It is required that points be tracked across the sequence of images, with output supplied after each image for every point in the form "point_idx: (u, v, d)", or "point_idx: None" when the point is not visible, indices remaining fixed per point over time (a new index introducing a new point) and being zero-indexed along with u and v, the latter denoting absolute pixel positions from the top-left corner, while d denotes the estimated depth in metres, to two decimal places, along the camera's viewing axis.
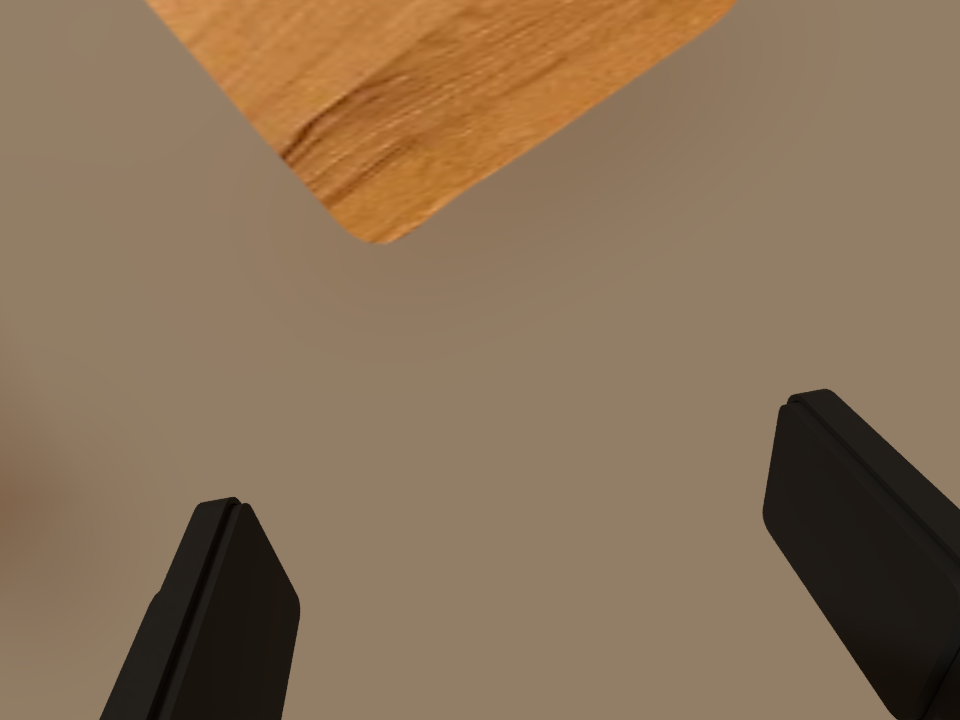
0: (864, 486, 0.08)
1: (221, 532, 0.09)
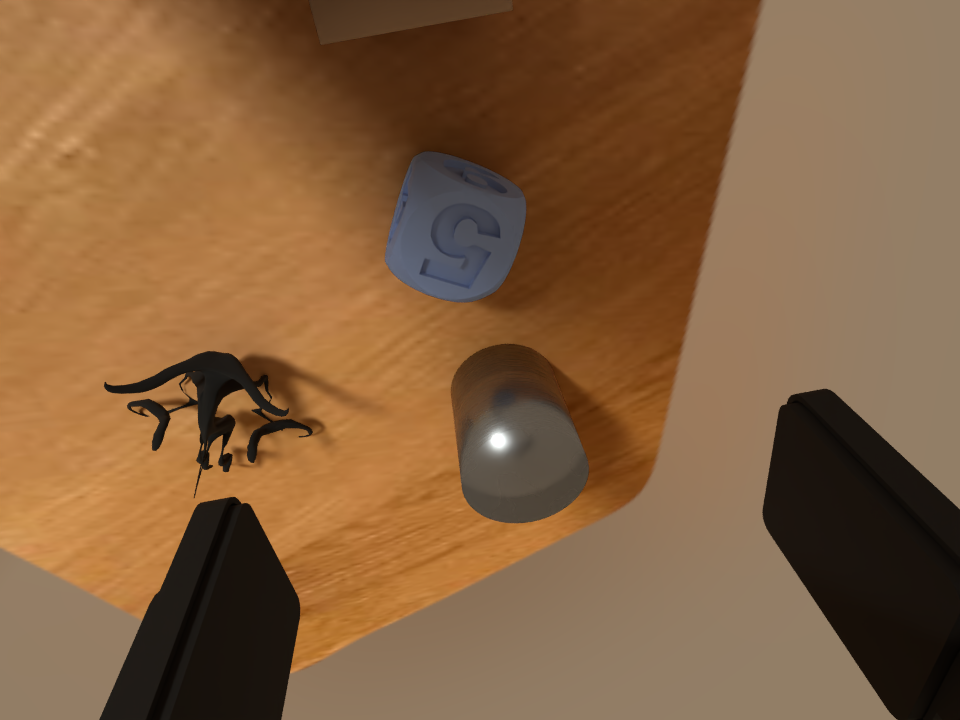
0: (864, 486, 0.08)
1: (221, 532, 0.09)
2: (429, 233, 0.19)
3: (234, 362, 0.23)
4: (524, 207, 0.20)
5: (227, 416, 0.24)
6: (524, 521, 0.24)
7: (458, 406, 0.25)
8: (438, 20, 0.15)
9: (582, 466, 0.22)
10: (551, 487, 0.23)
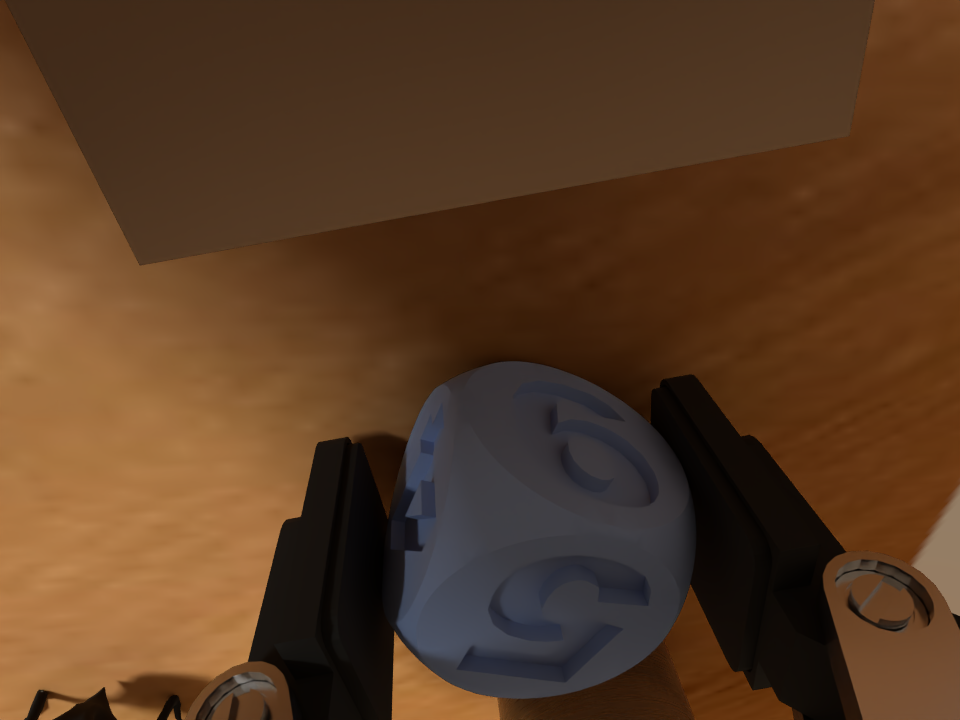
0: (701, 459, 0.09)
1: (344, 466, 0.10)
2: (485, 608, 0.08)
3: None
4: (694, 513, 0.09)
5: None
6: None
7: None
8: (575, 176, 0.04)
9: None
10: None
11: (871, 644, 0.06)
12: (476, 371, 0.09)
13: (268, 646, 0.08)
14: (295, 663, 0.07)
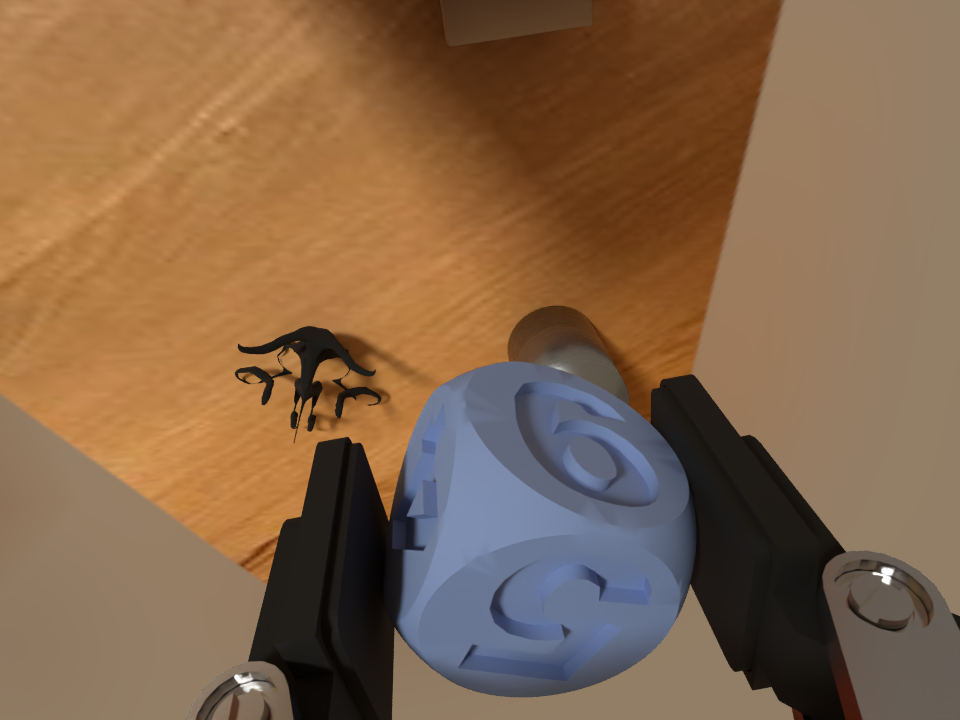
0: (701, 459, 0.09)
1: (344, 465, 0.10)
2: (487, 607, 0.08)
3: (330, 335, 0.28)
4: (694, 513, 0.09)
5: (317, 381, 0.30)
6: None
7: (518, 353, 0.29)
8: (537, 31, 0.20)
9: (624, 399, 0.27)
10: None
11: (871, 644, 0.06)
12: (477, 371, 0.09)
13: (268, 646, 0.08)
14: (295, 663, 0.07)
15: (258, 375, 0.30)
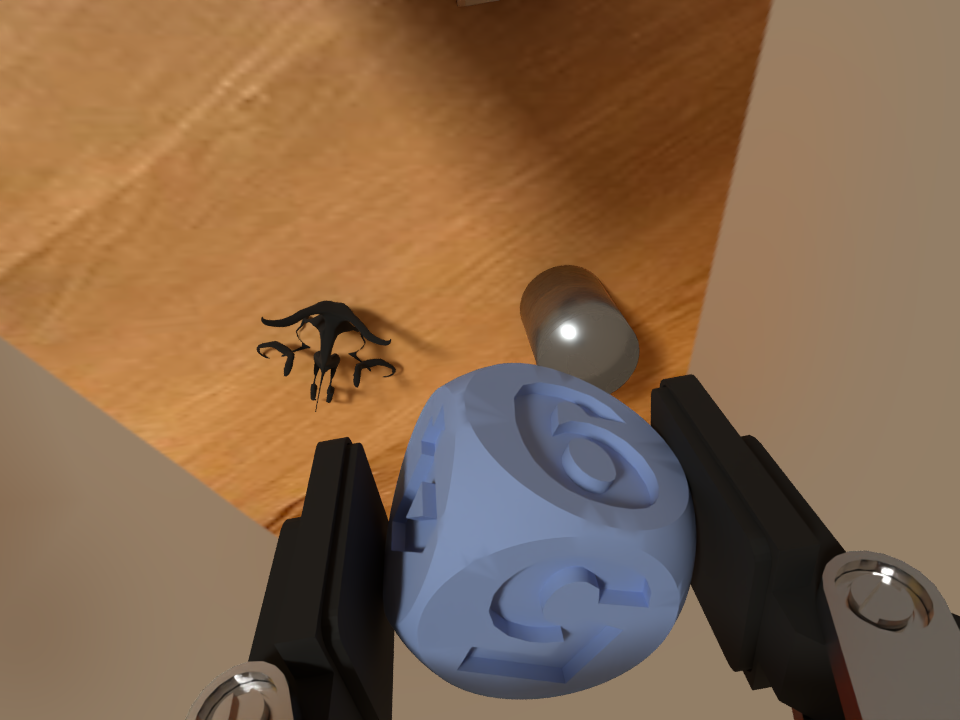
0: (701, 459, 0.09)
1: (344, 465, 0.10)
2: (486, 609, 0.08)
3: (346, 308, 0.30)
4: (693, 515, 0.09)
5: (335, 354, 0.32)
6: None
7: (531, 311, 0.31)
8: None
9: (634, 350, 0.28)
10: (609, 368, 0.29)
11: (870, 644, 0.06)
12: (477, 373, 0.09)
13: (268, 646, 0.08)
14: (295, 663, 0.07)
15: (279, 349, 0.31)
